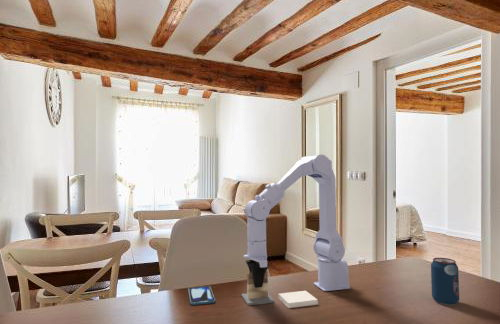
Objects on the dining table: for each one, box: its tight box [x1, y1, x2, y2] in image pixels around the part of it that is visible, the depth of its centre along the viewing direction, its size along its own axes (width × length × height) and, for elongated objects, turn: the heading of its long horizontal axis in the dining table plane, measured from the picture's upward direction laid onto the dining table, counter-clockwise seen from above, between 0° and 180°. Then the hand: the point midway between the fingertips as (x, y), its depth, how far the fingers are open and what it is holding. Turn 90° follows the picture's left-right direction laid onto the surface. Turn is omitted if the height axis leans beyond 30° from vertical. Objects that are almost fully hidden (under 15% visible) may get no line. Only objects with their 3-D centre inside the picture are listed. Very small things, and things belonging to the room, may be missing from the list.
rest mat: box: [240, 292, 275, 306], centre depth 101 cm, size 8×8×1 cm
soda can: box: [430, 257, 460, 306], centre depth 98 cm, size 7×7×12 cm
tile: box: [278, 290, 319, 309], centre depth 99 cm, size 9×2×8 cm
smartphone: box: [187, 285, 216, 306], centre depth 104 cm, size 7×1×15 cm
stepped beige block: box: [246, 270, 269, 299], centre depth 101 cm, size 6×2×8 cm, turn 104°
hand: (257, 285), depth 101 cm, fingers open, 2 cm apart
